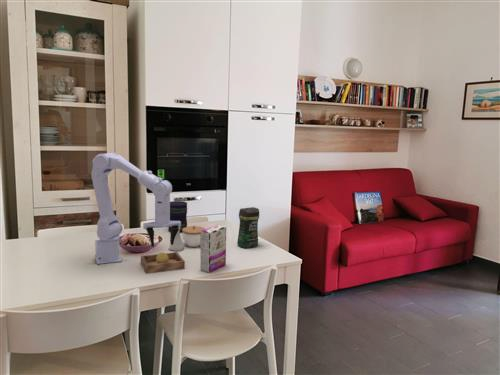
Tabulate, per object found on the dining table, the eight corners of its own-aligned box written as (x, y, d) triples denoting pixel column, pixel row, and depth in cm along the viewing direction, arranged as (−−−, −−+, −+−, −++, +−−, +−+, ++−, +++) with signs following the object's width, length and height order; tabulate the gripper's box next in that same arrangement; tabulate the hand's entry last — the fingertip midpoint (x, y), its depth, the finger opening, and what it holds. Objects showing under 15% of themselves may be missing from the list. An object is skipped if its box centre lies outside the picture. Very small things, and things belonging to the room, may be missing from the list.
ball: (157, 268, 156) (157, 256, 155) (154, 263, 160) (154, 251, 159) (170, 266, 158) (169, 254, 157) (166, 261, 162) (166, 250, 161)
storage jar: (185, 233, 204) (185, 205, 201) (166, 232, 204) (166, 204, 202) (188, 228, 214) (188, 201, 211) (170, 227, 214) (170, 200, 211)
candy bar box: (216, 262, 165) (217, 224, 162) (226, 264, 162) (227, 226, 160) (199, 270, 156) (199, 230, 153) (209, 273, 153) (210, 232, 150)
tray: (146, 273, 150) (146, 265, 150) (140, 262, 161) (140, 255, 160) (184, 268, 157) (184, 261, 156) (177, 258, 167) (177, 251, 167)
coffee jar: (244, 249, 182) (245, 210, 179) (234, 245, 188) (236, 207, 185) (260, 246, 188) (262, 208, 185) (251, 242, 194) (252, 205, 191)
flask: (181, 252, 175) (181, 230, 174) (165, 250, 177) (165, 229, 175) (186, 247, 182) (187, 226, 181) (172, 245, 184) (172, 225, 182)
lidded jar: (177, 246, 183) (177, 226, 182) (189, 240, 193) (189, 221, 191) (198, 250, 179) (198, 230, 178) (209, 243, 189) (209, 224, 187)
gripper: (145, 215, 148) (145, 249, 151) (183, 213, 154) (182, 246, 157) (142, 211, 155) (142, 244, 157) (178, 209, 161) (178, 241, 163)
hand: (162, 244), depth 157 cm, fingers open, 7 cm apart
